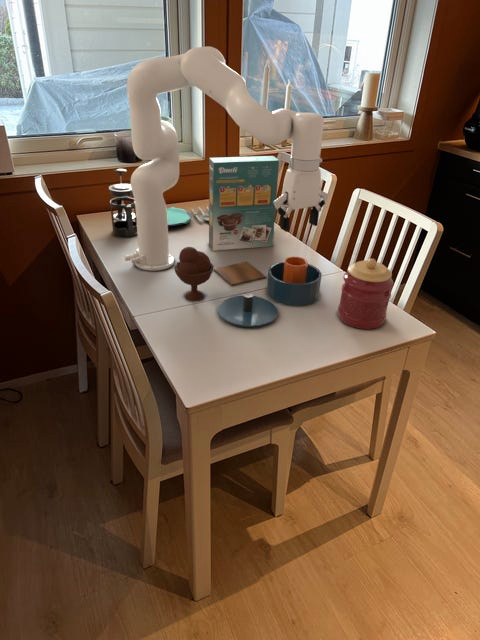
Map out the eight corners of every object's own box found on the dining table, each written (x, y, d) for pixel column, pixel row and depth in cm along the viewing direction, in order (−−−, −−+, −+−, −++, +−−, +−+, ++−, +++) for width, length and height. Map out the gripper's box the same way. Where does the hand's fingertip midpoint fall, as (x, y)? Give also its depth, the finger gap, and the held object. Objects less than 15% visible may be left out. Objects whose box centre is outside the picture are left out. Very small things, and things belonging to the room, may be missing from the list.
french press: (108, 229, 187) (101, 167, 175) (132, 225, 191) (127, 164, 179) (118, 241, 178) (112, 176, 166) (144, 236, 182) (139, 172, 170)
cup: (289, 299, 146) (293, 268, 141) (277, 289, 151) (280, 259, 145) (308, 294, 149) (312, 263, 143) (295, 285, 153) (298, 255, 148)
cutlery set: (135, 214, 202) (135, 208, 200) (207, 208, 211) (207, 203, 210) (145, 232, 186) (144, 226, 185) (222, 225, 195) (222, 219, 194)
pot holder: (231, 285, 152) (232, 284, 152) (213, 270, 161) (213, 268, 161) (265, 278, 158) (265, 276, 157) (246, 263, 166) (246, 261, 166)
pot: (286, 311, 141) (288, 289, 137) (256, 287, 152) (258, 266, 149) (329, 299, 148) (332, 278, 144) (298, 277, 159) (300, 257, 155)
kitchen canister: (393, 318, 139) (407, 260, 130) (368, 335, 131) (380, 275, 122) (354, 301, 147) (364, 245, 138) (327, 316, 139) (336, 257, 130)
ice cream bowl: (184, 308, 140) (183, 259, 132) (170, 291, 148) (168, 243, 140) (219, 301, 144) (220, 253, 136) (203, 284, 152) (203, 238, 144)
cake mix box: (267, 239, 185) (273, 155, 169) (272, 246, 180) (279, 160, 164) (208, 243, 179) (209, 157, 163) (212, 250, 174) (213, 162, 158)
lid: (236, 334, 129) (236, 316, 126) (207, 306, 141) (207, 288, 138) (288, 320, 137) (290, 302, 134) (257, 294, 149) (258, 277, 146)
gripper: (322, 157, 137) (315, 218, 146) (268, 164, 130) (265, 227, 138) (340, 164, 132) (332, 226, 141) (285, 171, 124) (280, 237, 133)
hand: (298, 227), depth 139 cm, fingers open, 9 cm apart
